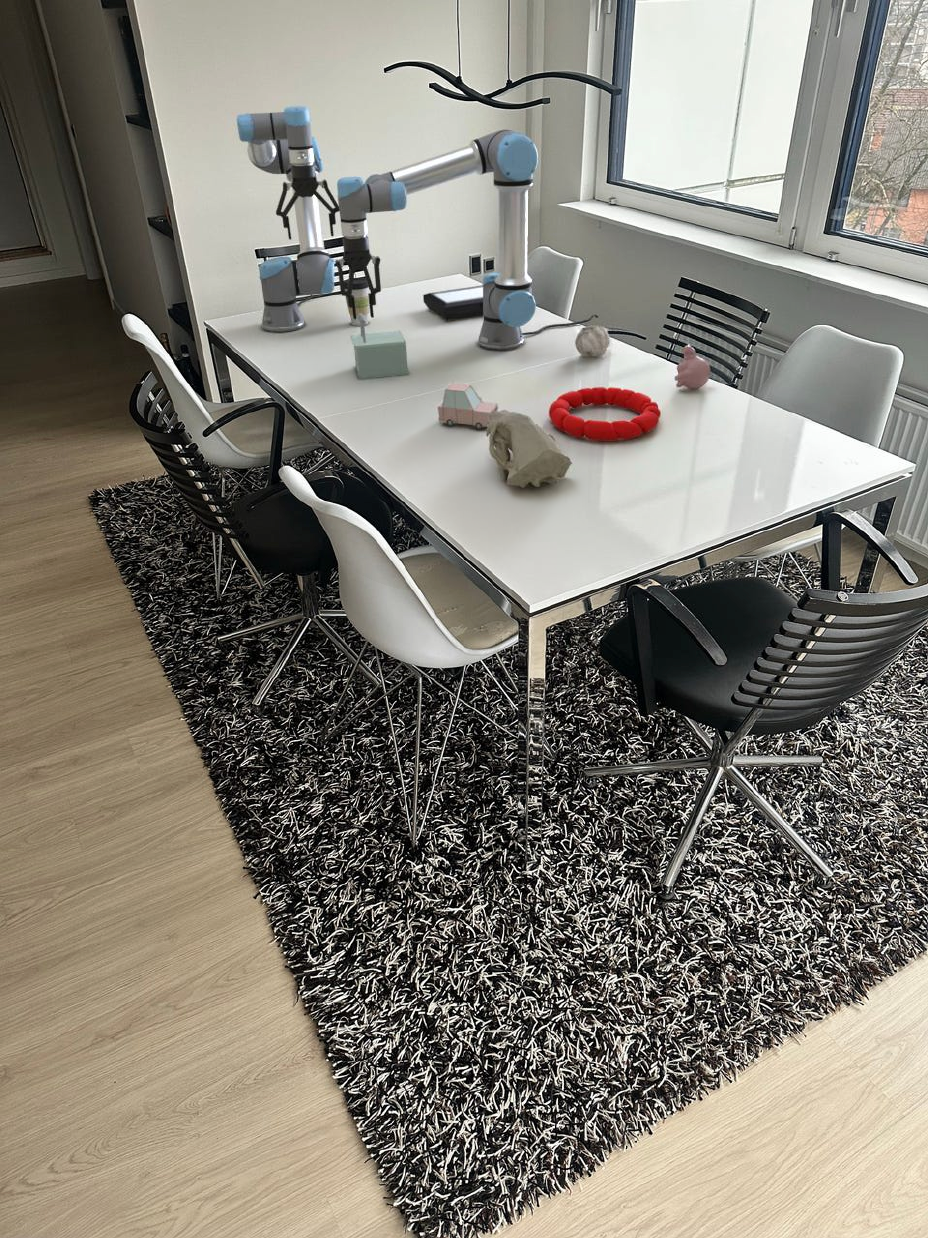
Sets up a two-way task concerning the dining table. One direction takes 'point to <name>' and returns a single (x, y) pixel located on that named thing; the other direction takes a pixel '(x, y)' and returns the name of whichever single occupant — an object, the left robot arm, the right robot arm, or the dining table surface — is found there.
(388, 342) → the lid
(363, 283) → the coffee cup
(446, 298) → the electronic device
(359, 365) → the chest
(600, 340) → the seashell
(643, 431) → the decorative ring
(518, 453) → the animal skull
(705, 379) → the figurine
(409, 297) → the dining table surface
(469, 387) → the toy car
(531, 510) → the dining table surface
